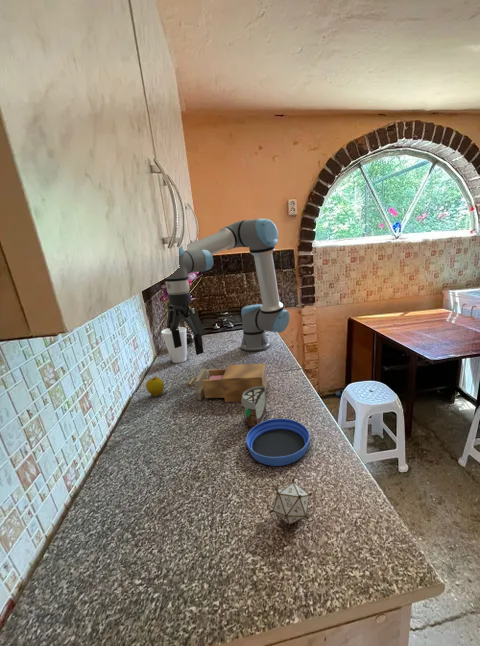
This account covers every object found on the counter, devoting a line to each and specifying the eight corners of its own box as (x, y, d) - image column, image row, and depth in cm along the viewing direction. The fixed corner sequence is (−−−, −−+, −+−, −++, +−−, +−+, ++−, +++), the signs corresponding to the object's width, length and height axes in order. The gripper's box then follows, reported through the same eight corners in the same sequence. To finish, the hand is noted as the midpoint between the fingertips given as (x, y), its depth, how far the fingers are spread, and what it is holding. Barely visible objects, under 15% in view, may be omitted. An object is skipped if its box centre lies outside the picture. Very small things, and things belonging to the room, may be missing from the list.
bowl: (234, 450, 89) (232, 439, 87) (277, 421, 101) (276, 412, 100) (280, 478, 77) (280, 467, 76) (322, 442, 90) (322, 432, 89)
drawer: (186, 400, 116) (183, 381, 113) (195, 386, 126) (192, 369, 124) (233, 398, 115) (231, 379, 112) (239, 384, 126) (237, 367, 123)
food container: (250, 409, 109) (247, 384, 105) (267, 410, 108) (265, 385, 104) (238, 430, 98) (234, 402, 94) (256, 431, 96) (254, 403, 93)
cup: (190, 362, 153) (185, 332, 148) (165, 366, 151) (159, 334, 145) (192, 354, 164) (187, 325, 158) (168, 357, 162) (162, 328, 156)
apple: (165, 389, 127) (161, 372, 124) (166, 396, 121) (162, 378, 118) (148, 393, 124) (144, 375, 122) (148, 400, 119) (144, 381, 116)
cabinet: (224, 402, 115) (221, 378, 112) (231, 386, 127) (228, 365, 123) (263, 400, 114) (262, 377, 111) (266, 385, 126) (265, 363, 123)
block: (225, 386, 122) (223, 375, 121) (222, 392, 118) (220, 380, 116) (212, 387, 123) (210, 375, 121) (209, 393, 118) (207, 381, 116)
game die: (301, 531, 67) (323, 520, 61) (264, 532, 64) (283, 520, 57) (297, 488, 73) (316, 474, 66) (263, 487, 70) (280, 471, 63)
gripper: (150, 292, 112) (161, 347, 119) (191, 297, 97) (201, 360, 104) (168, 288, 117) (178, 341, 125) (210, 293, 102) (218, 353, 110)
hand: (188, 350), depth 115 cm, fingers open, 13 cm apart
